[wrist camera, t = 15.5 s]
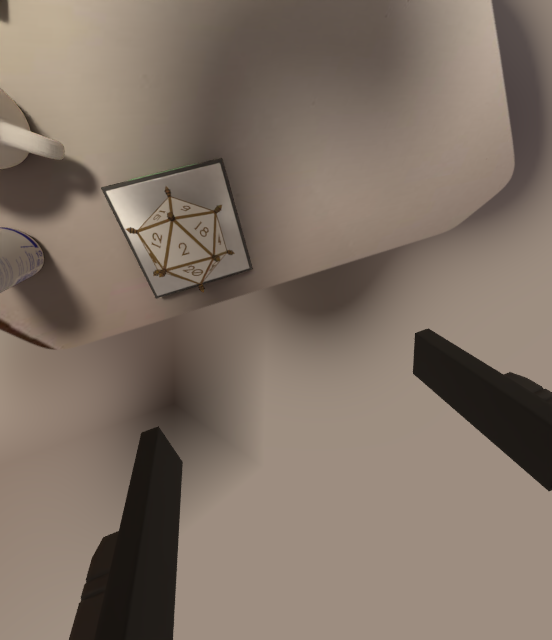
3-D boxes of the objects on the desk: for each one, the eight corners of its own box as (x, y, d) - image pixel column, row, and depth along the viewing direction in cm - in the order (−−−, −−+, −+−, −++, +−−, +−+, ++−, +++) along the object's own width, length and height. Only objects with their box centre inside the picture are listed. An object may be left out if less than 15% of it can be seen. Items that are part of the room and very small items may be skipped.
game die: (205, 228, 32) (266, 255, 27) (158, 282, 30) (215, 321, 26) (154, 159, 24) (227, 180, 20) (88, 226, 23) (151, 267, 18)
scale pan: (107, 191, 25) (105, 191, 25) (219, 163, 27) (219, 162, 26) (157, 294, 31) (157, 296, 30) (248, 267, 32) (249, 268, 32)
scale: (107, 186, 27) (100, 186, 25) (219, 158, 29) (221, 156, 27) (158, 291, 33) (155, 298, 31) (249, 264, 35) (252, 269, 33)
